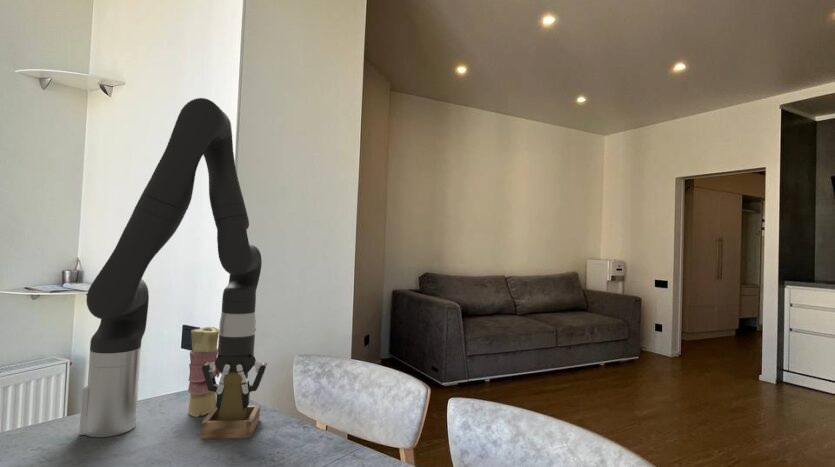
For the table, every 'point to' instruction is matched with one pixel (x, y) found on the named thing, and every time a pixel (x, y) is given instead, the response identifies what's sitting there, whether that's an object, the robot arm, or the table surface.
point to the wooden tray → (230, 425)
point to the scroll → (200, 355)
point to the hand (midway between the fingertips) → (232, 409)
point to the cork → (232, 398)
